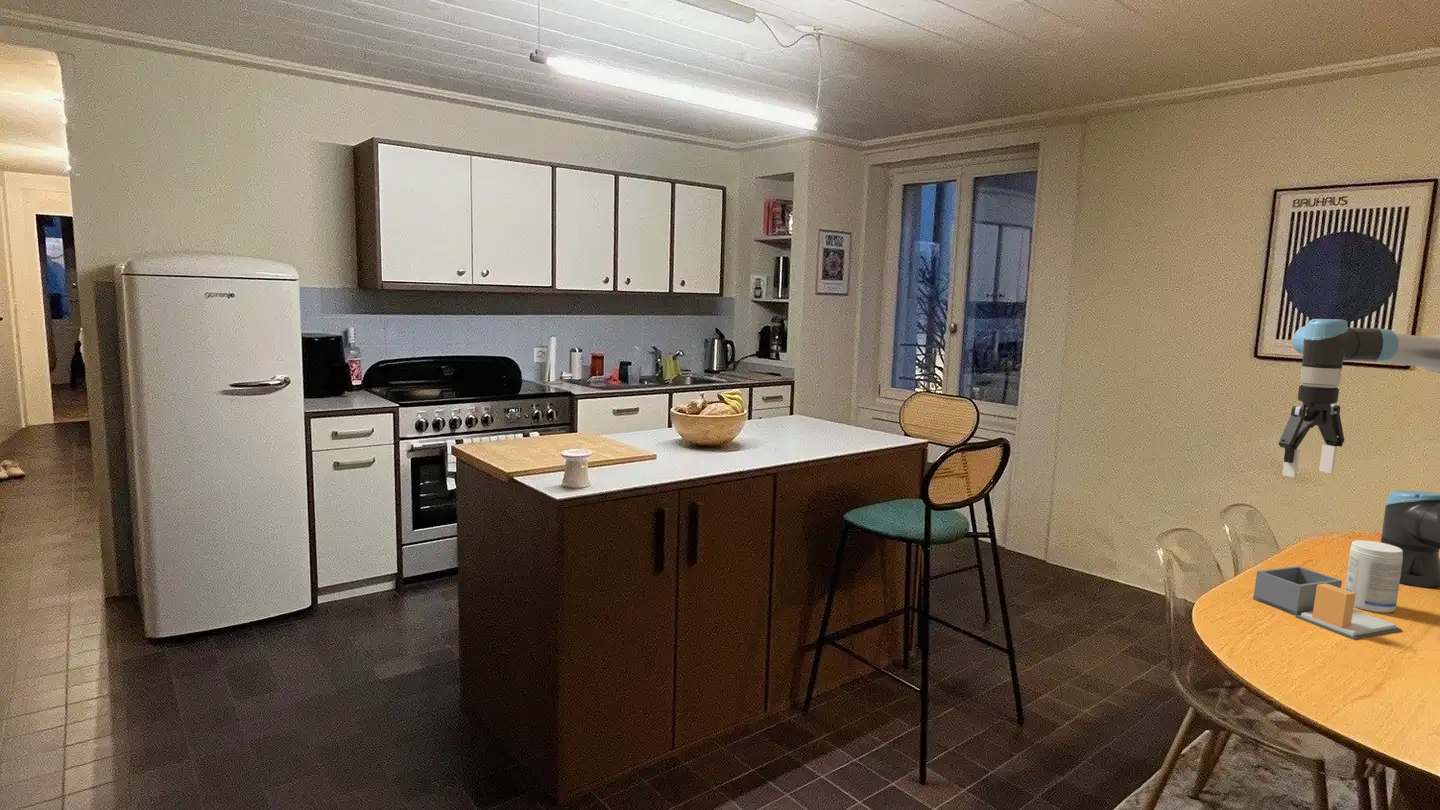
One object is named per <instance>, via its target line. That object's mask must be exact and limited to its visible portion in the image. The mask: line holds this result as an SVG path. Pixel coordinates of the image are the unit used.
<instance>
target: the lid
mask: <svg viewBox="0 0 1440 810" xmlns="http://www.w3.org/2000/svg"><path fill="white" fill-rule="evenodd" d="M1355 595H1356V593H1354V592H1351V591H1348V590H1345V588H1342V587H1341V588H1339V587H1336V586H1333V585H1330V584H1327V583H1325V584H1318V585H1317V588H1316V595H1315V602H1314V608H1313V611H1311V612H1305V613H1301V617H1304V618H1306V619H1309V620H1312V621H1314V622H1317V623H1320V624H1322V625H1325V626H1327V627H1330V628H1333V629H1335V630H1338V631H1341V632H1343V633H1346V634H1348V635H1351V636H1356V635H1361V634H1367V633H1372V632H1377V631H1383V630H1388V629H1394V628H1396V627H1397V623H1393V622H1390V621H1387V620H1384V619H1382V618H1380V617H1376V616H1373V615H1372V614H1371V615H1370V614H1367V613H1365V612H1362V611H1359V610H1356V609H1354V608H1355V607H1354V602H1355Z"/></svg>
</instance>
